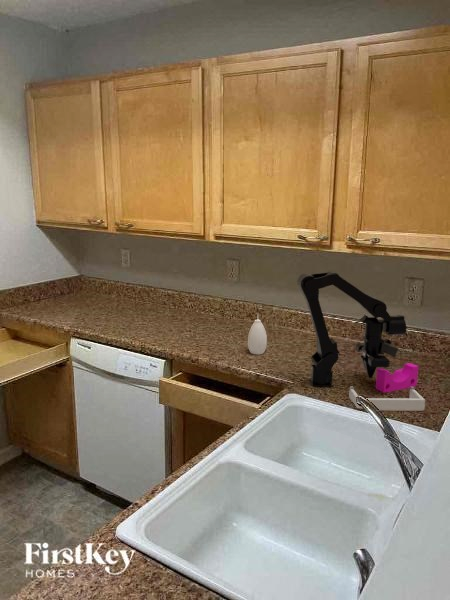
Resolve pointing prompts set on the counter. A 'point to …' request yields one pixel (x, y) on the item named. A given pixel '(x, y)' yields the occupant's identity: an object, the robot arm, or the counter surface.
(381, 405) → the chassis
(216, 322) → the counter surface
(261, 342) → the sauce bottle
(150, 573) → the counter surface
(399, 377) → the toy block
